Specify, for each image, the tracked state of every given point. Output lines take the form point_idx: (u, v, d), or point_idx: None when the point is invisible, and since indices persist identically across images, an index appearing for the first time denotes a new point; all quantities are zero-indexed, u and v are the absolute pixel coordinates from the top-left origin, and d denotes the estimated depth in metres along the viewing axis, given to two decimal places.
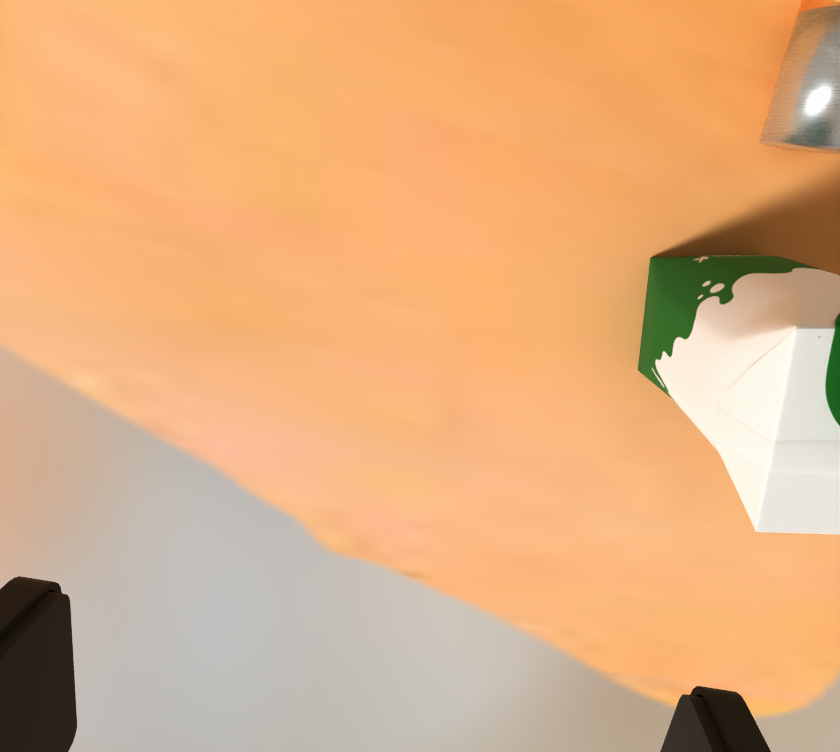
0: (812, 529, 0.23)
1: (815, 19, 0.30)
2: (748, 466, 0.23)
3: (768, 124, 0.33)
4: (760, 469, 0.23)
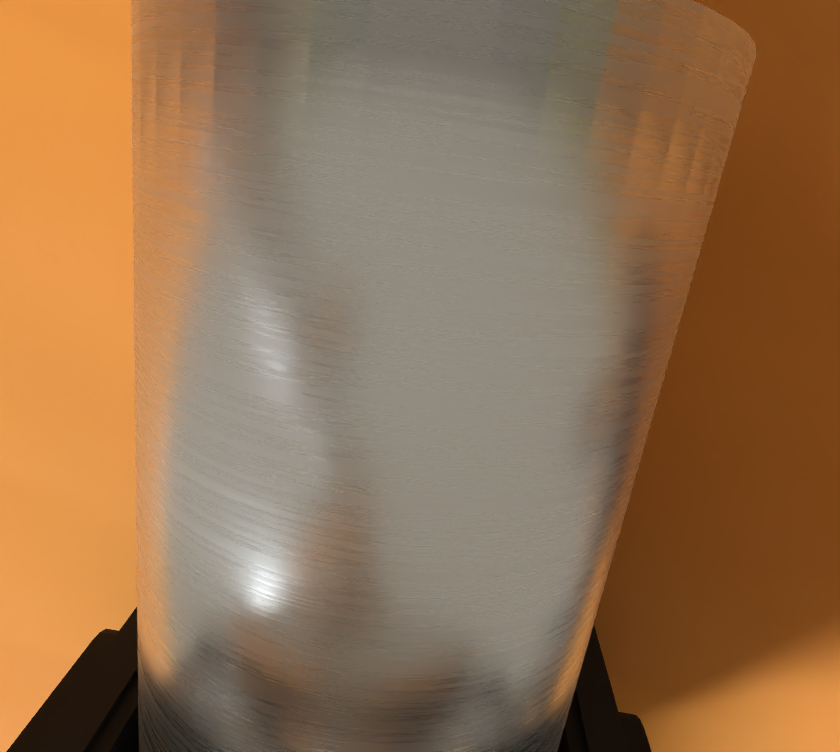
0: None
1: None
2: None
3: None
4: None
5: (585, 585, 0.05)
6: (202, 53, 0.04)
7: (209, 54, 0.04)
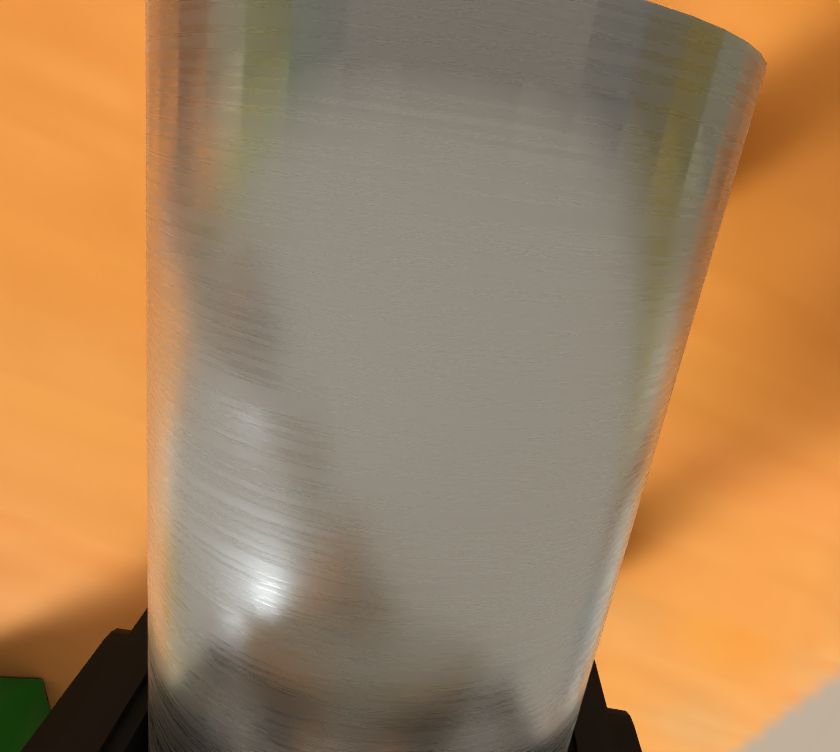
0: None
1: None
2: None
3: None
4: None
5: (600, 591, 0.05)
6: (231, 73, 0.04)
7: (237, 77, 0.04)
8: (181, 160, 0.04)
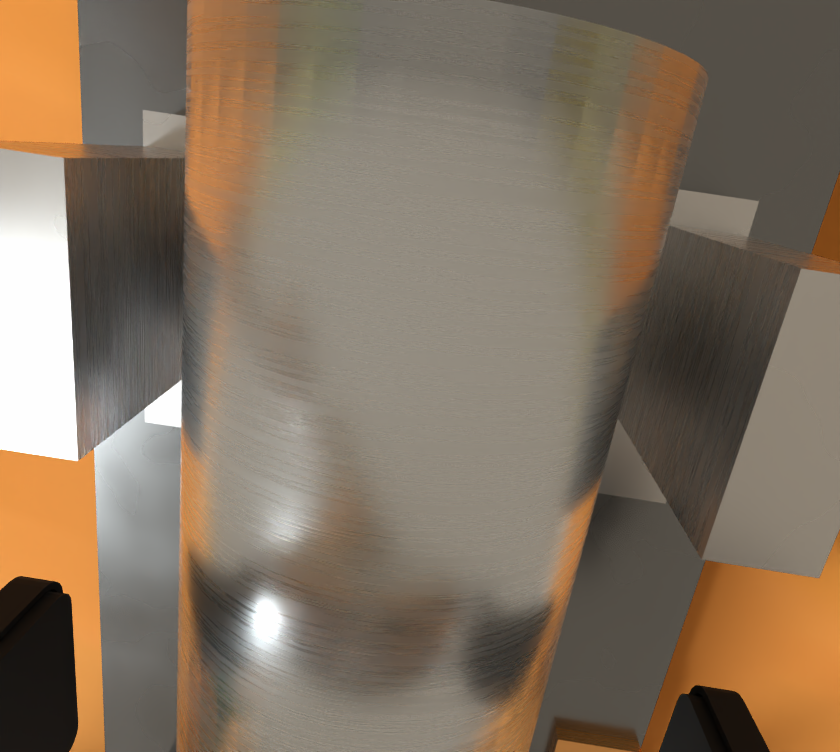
0: None
1: None
2: None
3: None
4: None
5: (572, 523, 0.06)
6: (264, 81, 0.05)
7: (270, 81, 0.05)
8: (220, 151, 0.05)
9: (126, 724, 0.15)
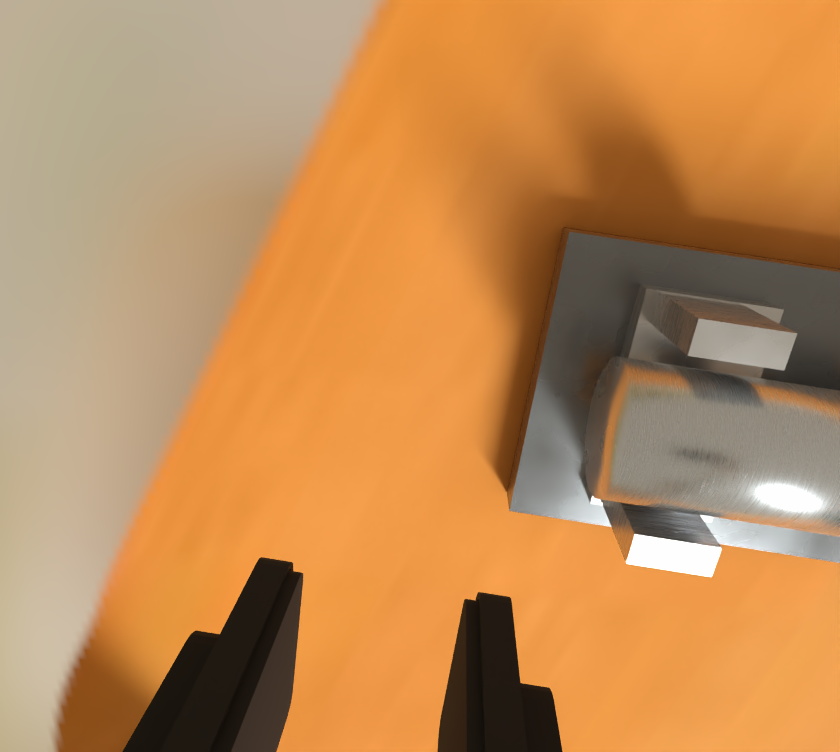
0: None
1: None
2: None
3: None
4: None
5: (764, 410, 0.20)
6: (630, 491, 0.20)
7: (631, 490, 0.20)
8: (641, 500, 0.21)
9: None
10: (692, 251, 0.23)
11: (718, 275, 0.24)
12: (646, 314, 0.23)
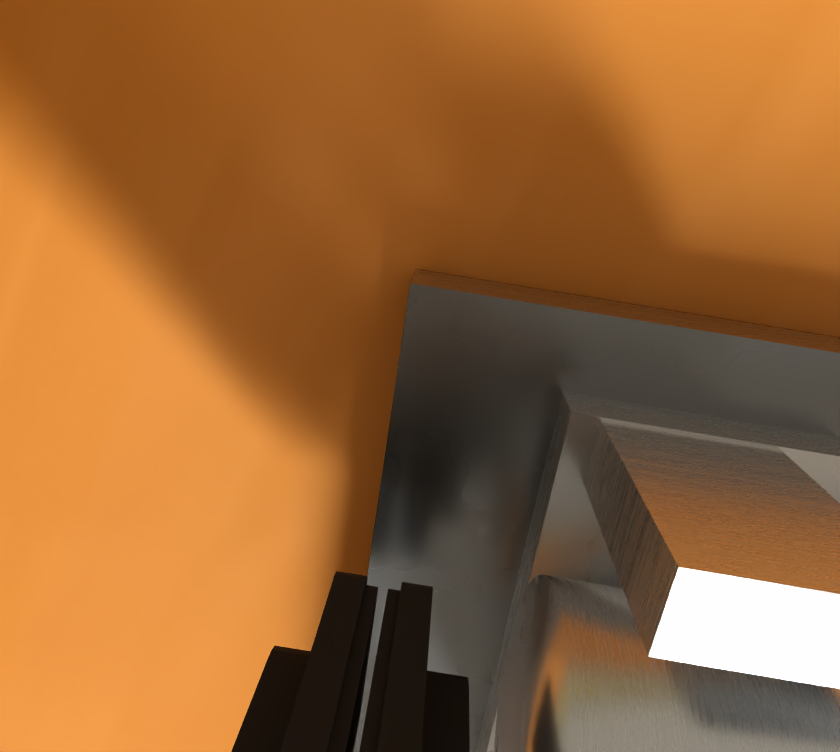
0: None
1: None
2: None
3: None
4: None
5: None
6: None
7: None
8: None
9: None
10: (673, 328, 0.11)
11: (728, 378, 0.11)
12: (572, 464, 0.11)
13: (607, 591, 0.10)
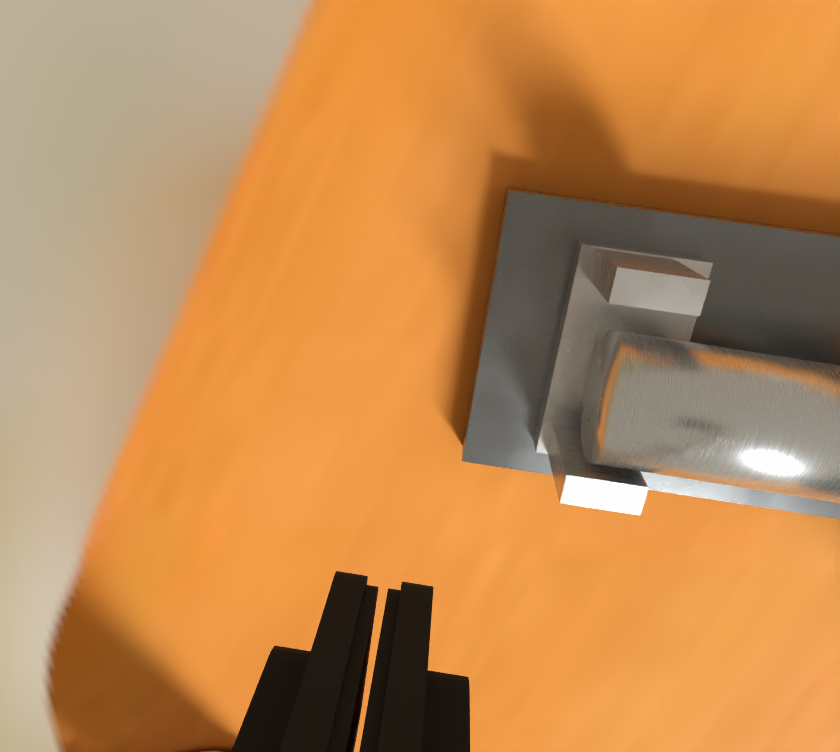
0: None
1: None
2: None
3: None
4: None
5: (749, 396, 0.21)
6: (616, 462, 0.22)
7: (616, 461, 0.22)
8: (626, 467, 0.23)
9: (824, 506, 0.28)
10: (627, 208, 0.24)
11: (653, 231, 0.25)
12: (582, 269, 0.24)
13: (638, 335, 0.23)
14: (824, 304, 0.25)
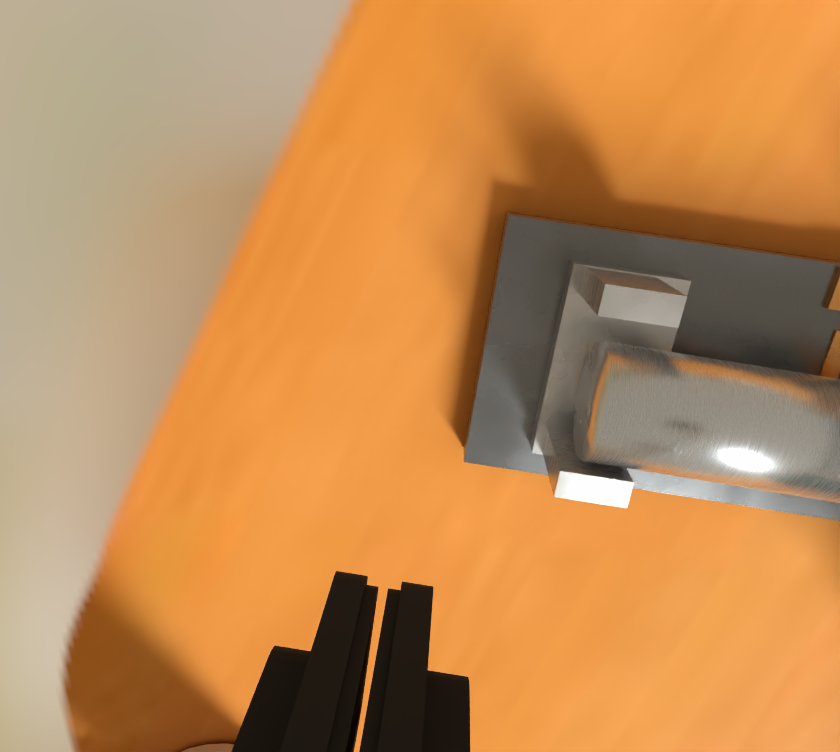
0: None
1: None
2: None
3: None
4: None
5: (722, 400, 0.24)
6: (605, 459, 0.25)
7: (605, 458, 0.25)
8: (614, 464, 0.25)
9: (795, 503, 0.31)
10: (614, 231, 0.27)
11: (637, 252, 0.27)
12: (574, 285, 0.27)
13: (624, 344, 0.25)
14: (791, 319, 0.28)
